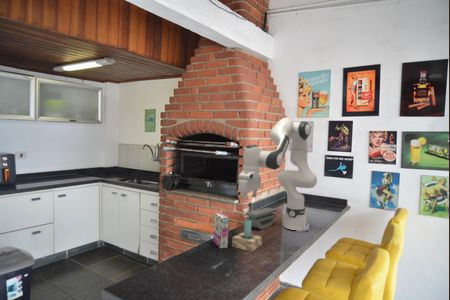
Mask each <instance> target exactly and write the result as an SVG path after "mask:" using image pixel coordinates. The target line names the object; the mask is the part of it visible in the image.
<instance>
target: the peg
mask: <svg viewBox="0 0 450 300" xmlns="http://www.w3.org/2000/svg"><path fill="white" fill-rule="evenodd" d="M243 232H244V238H245V239H251V234H252V227H251V220H247V219H245V220H244V231H243Z"/></svg>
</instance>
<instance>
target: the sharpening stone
mask: <svg viewBox="0 0 450 300" xmlns="http://www.w3.org/2000/svg"><path fill="white" fill-rule="evenodd" d="M277 212H278V209H277V208H272V207H268V206H267V207H264V208H261V209H256V210H255V209H254V210H251V211H248V212H245V215H246V216H248V217H246V220H251V228H253V227H255V228H254V229H256V228H258V229H257V230H260V229H263V228H265V227H268V226H270V225H272V226H273V224H274V222H275V220H276V219H277V214H275V213H277ZM263 230H264V229H263Z"/></svg>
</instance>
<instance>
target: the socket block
mask: <svg viewBox="0 0 450 300" xmlns="http://www.w3.org/2000/svg"><path fill="white" fill-rule="evenodd" d="M262 240H263V236H261V235H256V234H252V233H251V239H245V238H244V231H243V232H240V233H239V234H235V236H232V237H231V247H232V248H236V249H239V250H243V251H247V252H251V253H252V252H253V251H255V250H257V249H258V248H260V247H261V246H262V245H263V244H262V243H263V242H262Z"/></svg>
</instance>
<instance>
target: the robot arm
mask: <svg viewBox="0 0 450 300" xmlns="http://www.w3.org/2000/svg"><path fill="white" fill-rule="evenodd" d="M311 131H312V129H311V125H310V124H309V122H307V121H293V120H292V118H289V117H283V118H281V119H280V120H278V121H277V122H276V123H275V124H274V126H273V127H272V128H271V130H270V132H269V138H270V139H271V141H272V142H273V143H274V144H276V145H278V146H277V147H276V149H275V150H270V151H269V150H263V149H261V148H260V147H259V146H260V145H258V144H248V145H246V146H245V148H244V151H243V168H242V171H241V172H240V173H238V179H239V180H238V191H239V193H241V194H242V195H243V198H244V199H243V200H244V201H249V196H248V195H249V193H250V192H252V194H251V195H252V196H251V197H252V198H256V197H257V193H258V189H261V187H262V177H261V176H260V175H261V174H260V168H264V169H270V170H275V171H276V170H278V169H279V168H280V167H281V166H282V163H283V159H284V157H285V154H286V152H287V151H288V147H289V144H290V140H291V139H292V141H291V144H290V145H291V146H290V156H289V161H290V163H291V164H292V165H294V166H295V167H297V169H298V170H291V169H290V170H289V169H286V170H280V172H279V173H278V175H277V182H278V184H280V185H281V186H282V187H283V189H284V191H285V193H286V198H287V199H286V200H287V201H286V202H287V204H286V205H287V206H286V208H285V212H286V213H284V215H283V221H282V224H283V226H284V227H285V228H287V229H291V230H303V229H305V227H306V225H307V224H308V216H307V215H306V207H305V195H304V194H302V193H300V192H299V191H298V190H297V188H301V189H302V188H303V189H313V188H315V186H316V185H317V183H318V178H317V175H316V173H314V172H313V171H312V170H311V168H310V166H309V164H308V149H309V146H308V145H309V144H308V143H309V142H308V138H309V136H310V134H311ZM284 227H283V228H284ZM285 228H284V229H285ZM287 229H286V230H287Z"/></svg>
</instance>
